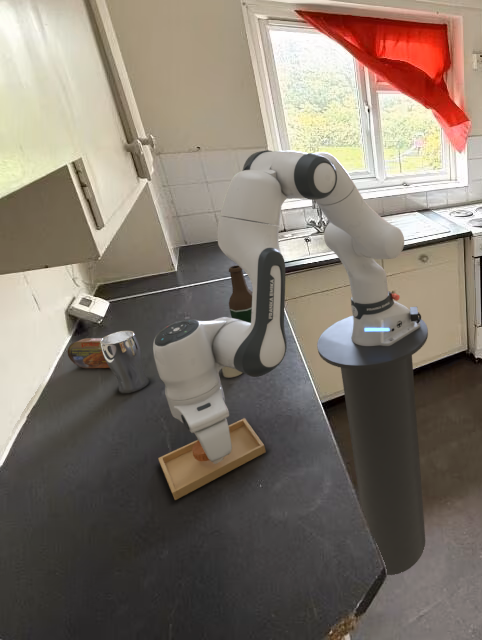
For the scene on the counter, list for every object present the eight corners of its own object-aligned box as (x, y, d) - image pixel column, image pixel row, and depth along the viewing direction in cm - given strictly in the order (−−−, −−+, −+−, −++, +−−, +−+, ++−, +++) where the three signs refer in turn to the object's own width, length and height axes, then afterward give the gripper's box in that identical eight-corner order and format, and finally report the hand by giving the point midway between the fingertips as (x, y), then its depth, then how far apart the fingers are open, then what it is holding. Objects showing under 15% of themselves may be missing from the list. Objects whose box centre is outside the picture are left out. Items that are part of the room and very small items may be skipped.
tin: (71, 368, 119) (61, 342, 116) (82, 362, 122) (72, 336, 119) (127, 368, 119) (118, 342, 116) (136, 361, 122) (127, 336, 119)
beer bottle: (246, 328, 141) (231, 261, 132) (269, 329, 140) (255, 262, 132) (230, 341, 133) (213, 271, 125) (255, 342, 133) (239, 272, 125)
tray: (246, 424, 100) (244, 417, 99) (265, 452, 92) (264, 445, 92) (160, 465, 88) (158, 458, 88) (175, 500, 81) (172, 492, 80)
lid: (197, 466, 85) (195, 459, 85) (191, 449, 89) (188, 442, 89) (232, 450, 90) (230, 443, 89) (224, 434, 94) (222, 428, 93)
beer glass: (115, 385, 112) (97, 336, 107) (149, 374, 117) (133, 327, 111) (118, 398, 107) (99, 347, 102) (153, 386, 112) (136, 337, 107)
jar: (241, 363, 122) (234, 331, 119) (248, 371, 119) (240, 339, 115) (220, 371, 119) (211, 339, 115) (226, 380, 115) (218, 346, 111)
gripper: (165, 382, 89) (182, 434, 94) (191, 431, 76) (209, 488, 81) (200, 369, 94) (214, 419, 98) (231, 413, 81) (245, 468, 86)
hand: (212, 451), depth 90 cm, fingers closed on lid, 6 cm apart
